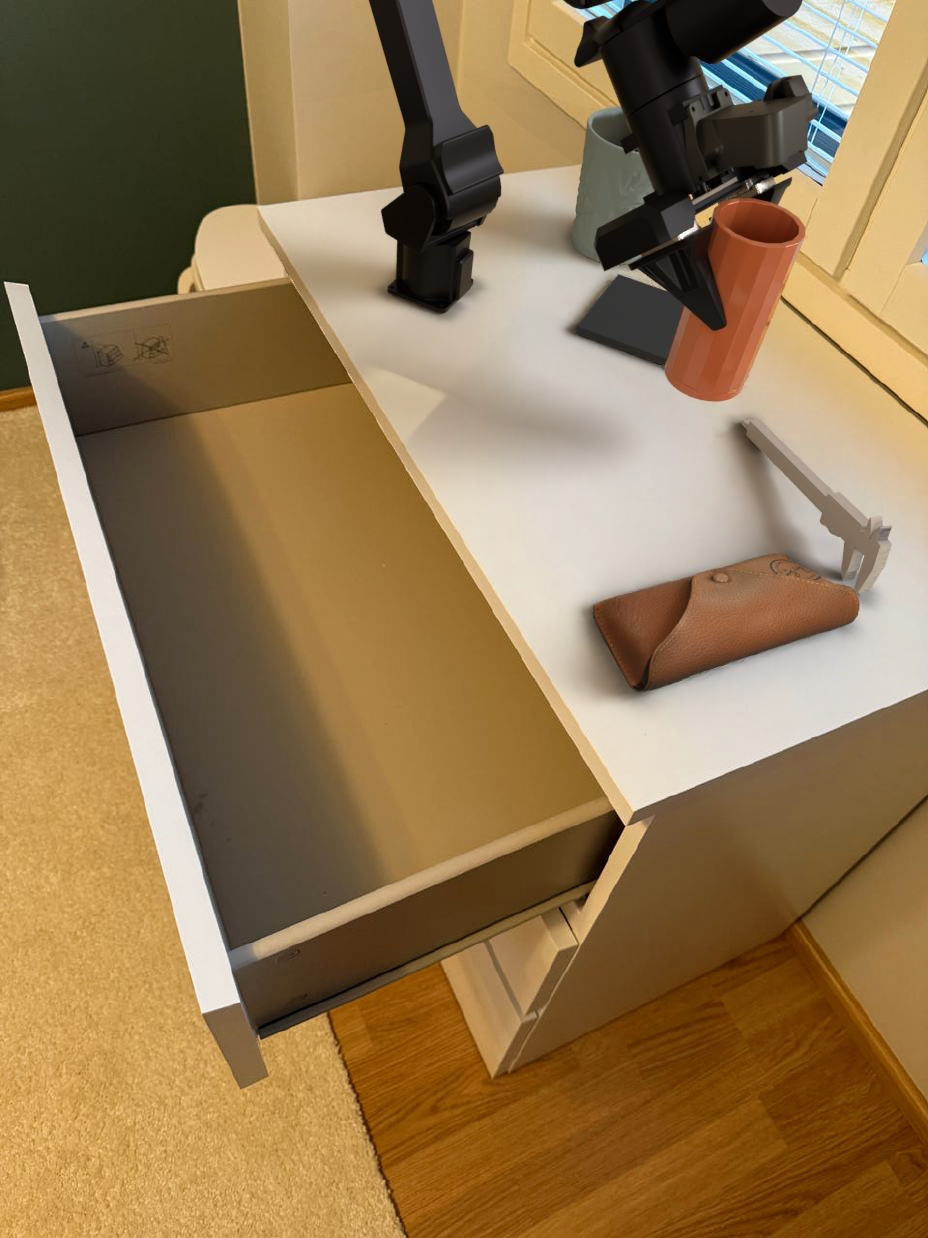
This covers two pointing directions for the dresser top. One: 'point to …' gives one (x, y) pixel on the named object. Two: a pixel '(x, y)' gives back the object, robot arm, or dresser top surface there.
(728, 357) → the crock
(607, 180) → the green ceramic pot
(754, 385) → the dresser top surface
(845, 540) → the caliper
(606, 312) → the mat
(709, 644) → the sunglasses case
